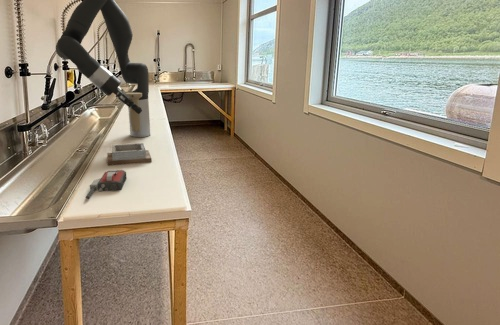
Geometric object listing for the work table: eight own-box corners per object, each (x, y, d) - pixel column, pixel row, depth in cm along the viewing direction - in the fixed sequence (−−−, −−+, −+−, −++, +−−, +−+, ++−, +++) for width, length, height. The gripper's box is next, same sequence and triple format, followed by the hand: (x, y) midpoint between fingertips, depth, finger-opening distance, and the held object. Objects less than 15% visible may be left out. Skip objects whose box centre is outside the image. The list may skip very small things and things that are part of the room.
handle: (143, 132, 150) (140, 94, 145) (126, 132, 149) (123, 93, 145) (145, 129, 154) (143, 92, 150) (129, 129, 154) (126, 92, 149)
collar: (112, 152, 143) (111, 145, 142) (143, 150, 147) (143, 143, 146) (112, 160, 133) (112, 152, 132) (146, 158, 136) (145, 150, 135)
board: (107, 156, 143) (107, 152, 143) (148, 153, 148) (148, 150, 147) (107, 165, 132) (107, 161, 132) (151, 162, 137) (151, 158, 137)
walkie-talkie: (99, 179, 120) (83, 203, 101) (98, 165, 119) (81, 187, 100) (128, 177, 121) (117, 201, 102) (127, 164, 120) (116, 186, 101)
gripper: (111, 74, 136) (148, 107, 144) (111, 72, 149) (145, 102, 157) (97, 90, 136) (134, 121, 144) (98, 85, 149) (132, 115, 157)
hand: (140, 111), depth 150 cm, fingers closed on handle, 3 cm apart
